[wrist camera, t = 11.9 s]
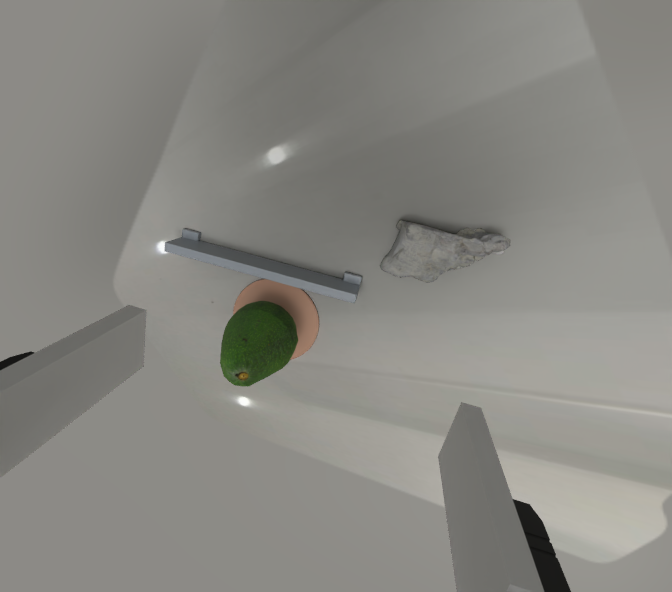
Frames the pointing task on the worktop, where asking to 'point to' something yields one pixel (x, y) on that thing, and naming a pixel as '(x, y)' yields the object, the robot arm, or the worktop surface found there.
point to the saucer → (286, 308)
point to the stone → (438, 250)
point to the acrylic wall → (264, 267)
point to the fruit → (257, 342)
